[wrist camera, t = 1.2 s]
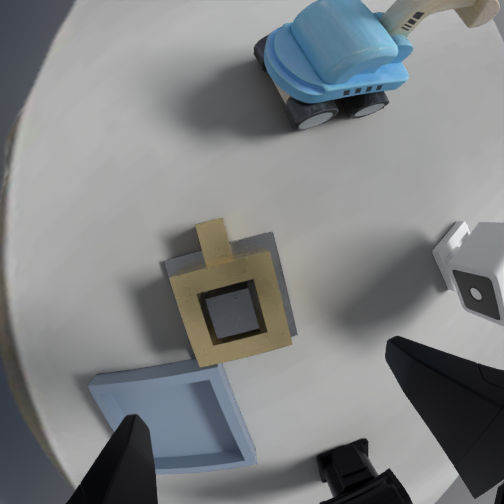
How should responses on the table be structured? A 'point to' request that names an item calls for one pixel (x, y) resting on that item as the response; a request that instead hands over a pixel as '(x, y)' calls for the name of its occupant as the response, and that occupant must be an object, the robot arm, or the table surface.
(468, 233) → the security camera
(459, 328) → the table surface
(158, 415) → the tray
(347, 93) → the toy excavator
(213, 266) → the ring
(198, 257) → the grey peg base
